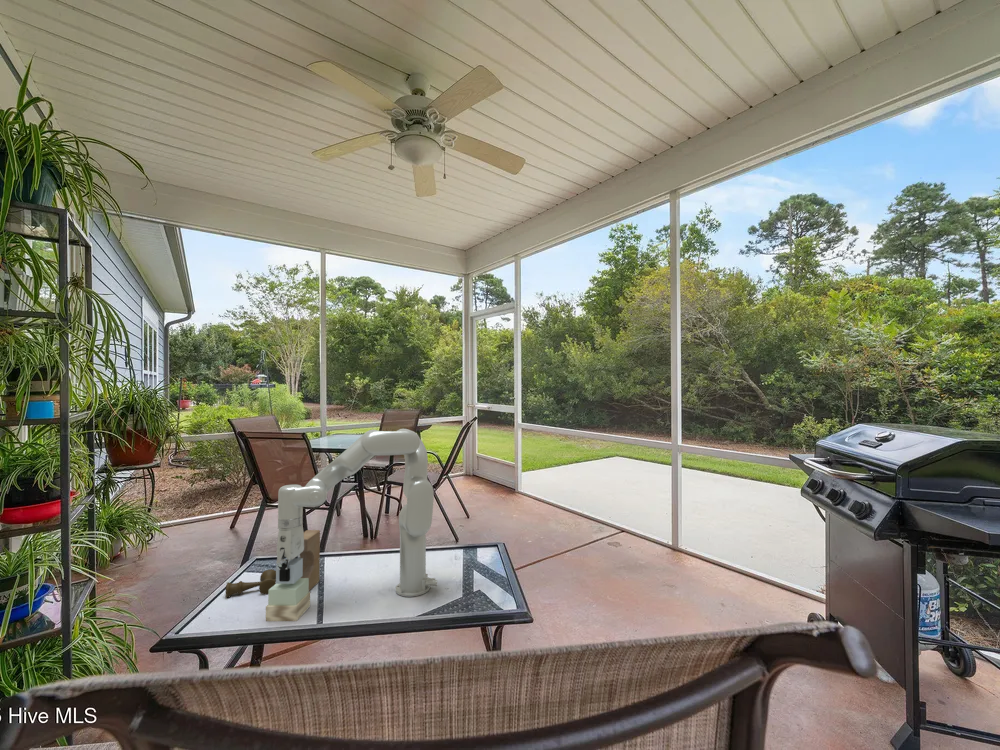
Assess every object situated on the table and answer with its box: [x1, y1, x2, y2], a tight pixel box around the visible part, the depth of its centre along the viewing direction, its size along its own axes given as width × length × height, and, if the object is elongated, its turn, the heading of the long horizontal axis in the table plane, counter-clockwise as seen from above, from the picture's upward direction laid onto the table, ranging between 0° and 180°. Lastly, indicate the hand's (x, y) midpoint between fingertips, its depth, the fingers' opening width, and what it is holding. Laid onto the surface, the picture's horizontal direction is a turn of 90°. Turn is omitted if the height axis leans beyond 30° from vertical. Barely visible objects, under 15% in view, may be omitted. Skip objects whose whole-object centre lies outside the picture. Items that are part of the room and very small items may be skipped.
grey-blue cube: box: [275, 557, 303, 584], centre depth 145 cm, size 6×6×6 cm
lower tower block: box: [265, 591, 311, 622], centre depth 144 cm, size 10×10×5 cm
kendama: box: [225, 569, 276, 598], centre depth 161 cm, size 6×10×20 cm
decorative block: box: [300, 529, 321, 592], centre depth 164 cm, size 11×6×20 cm, turn 177°
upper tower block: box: [267, 578, 310, 606], centre depth 145 cm, size 9×9×5 cm
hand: (289, 576), depth 145 cm, fingers closed on grey-blue cube, 6 cm apart
